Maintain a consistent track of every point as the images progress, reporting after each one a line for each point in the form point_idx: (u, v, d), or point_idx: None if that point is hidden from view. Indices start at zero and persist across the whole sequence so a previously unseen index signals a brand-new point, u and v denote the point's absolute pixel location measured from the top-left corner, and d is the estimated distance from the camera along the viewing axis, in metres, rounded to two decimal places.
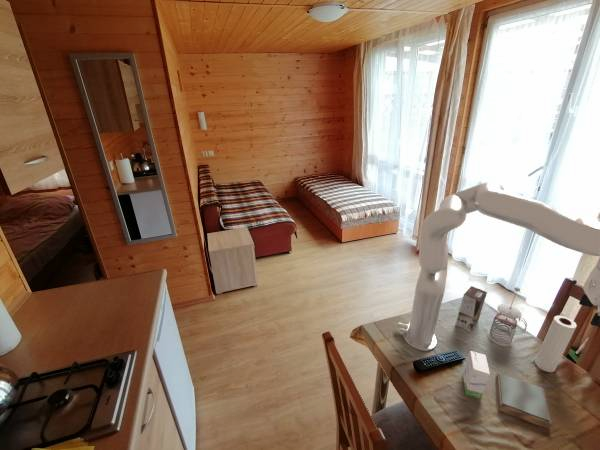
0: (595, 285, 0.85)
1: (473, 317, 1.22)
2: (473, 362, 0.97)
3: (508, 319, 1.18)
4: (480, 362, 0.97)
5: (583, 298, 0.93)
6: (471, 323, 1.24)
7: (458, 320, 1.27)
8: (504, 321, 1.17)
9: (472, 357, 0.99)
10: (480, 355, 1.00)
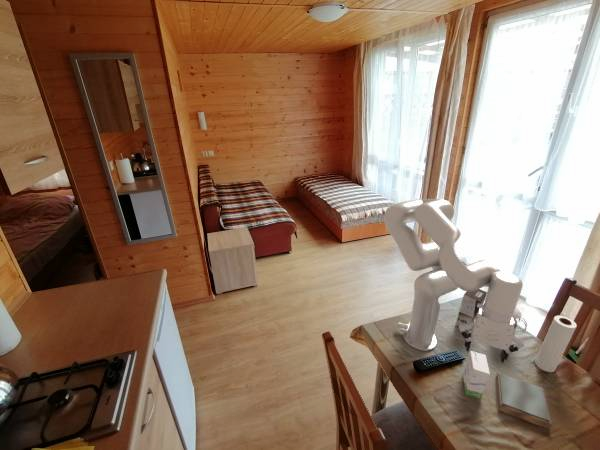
0: (498, 335, 0.88)
1: (473, 317, 1.22)
2: (473, 362, 0.97)
3: None
4: (480, 362, 0.97)
5: (469, 346, 0.95)
6: None
7: (458, 320, 1.27)
8: None
9: (472, 357, 0.99)
10: (480, 355, 1.00)
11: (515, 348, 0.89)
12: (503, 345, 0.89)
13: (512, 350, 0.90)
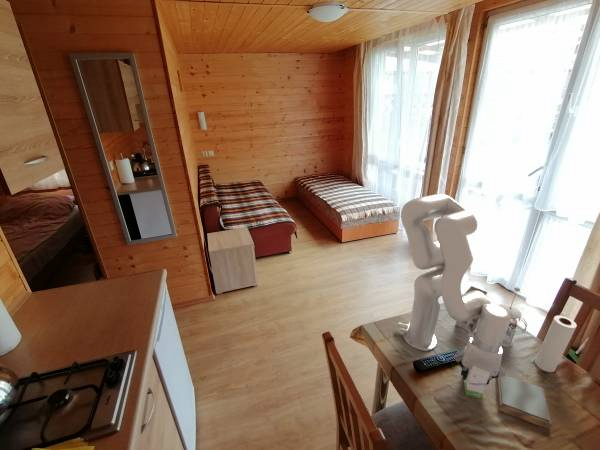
0: (487, 363, 0.93)
1: None
2: None
3: None
4: None
5: None
6: (471, 323, 1.24)
7: None
8: None
9: None
10: None
11: None
12: (492, 372, 0.94)
13: (493, 376, 0.96)
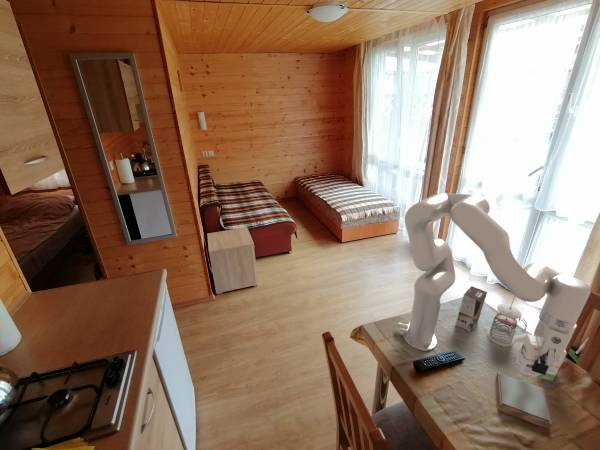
0: None
1: (473, 317, 1.22)
2: None
3: (508, 319, 1.18)
4: None
5: None
6: (471, 323, 1.24)
7: (458, 320, 1.27)
8: (504, 321, 1.17)
9: None
10: (533, 338, 0.88)
11: None
12: None
13: None
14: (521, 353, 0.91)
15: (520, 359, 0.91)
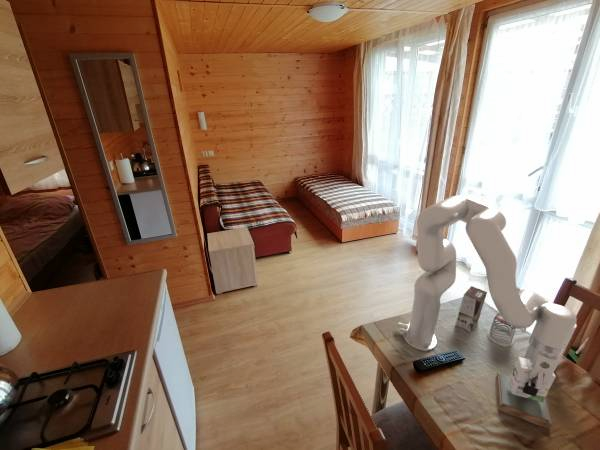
0: None
1: (473, 317, 1.22)
2: None
3: None
4: None
5: None
6: (471, 323, 1.24)
7: (458, 320, 1.27)
8: (504, 321, 1.17)
9: None
10: (523, 361, 0.92)
11: None
12: None
13: None
14: (513, 375, 0.95)
15: (512, 381, 0.95)
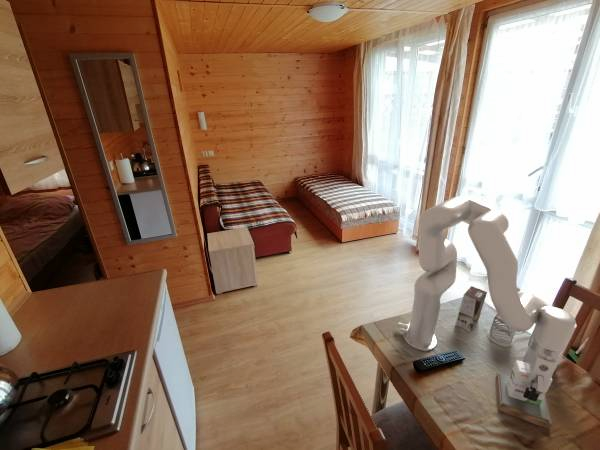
0: None
1: (473, 317, 1.22)
2: None
3: None
4: None
5: None
6: (471, 323, 1.24)
7: (458, 320, 1.27)
8: None
9: None
10: (521, 364, 0.93)
11: None
12: None
13: None
14: (510, 378, 0.96)
15: (510, 384, 0.96)
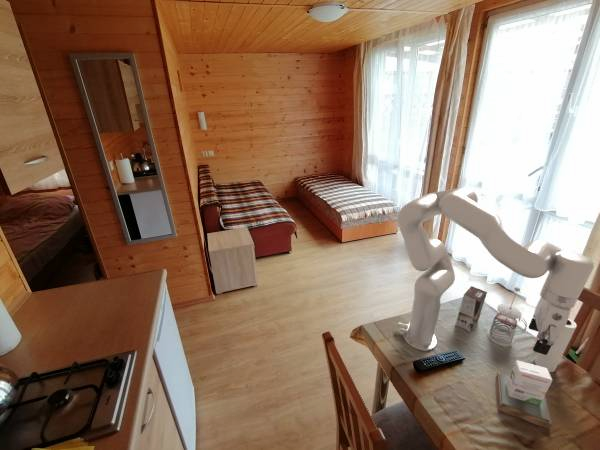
0: None
1: (473, 317, 1.22)
2: (539, 375, 0.89)
3: (508, 319, 1.18)
4: (535, 369, 0.91)
5: None
6: (471, 323, 1.24)
7: (458, 320, 1.27)
8: (504, 321, 1.17)
9: (531, 373, 0.90)
10: (521, 364, 0.93)
11: None
12: None
13: None
14: (510, 378, 0.96)
15: (510, 384, 0.96)
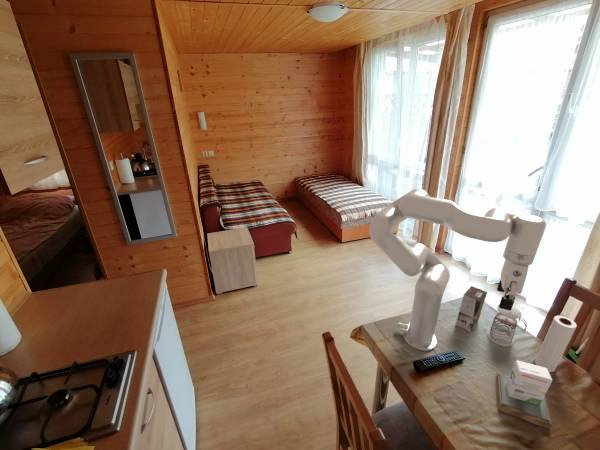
0: None
1: (473, 317, 1.22)
2: (539, 375, 0.89)
3: (508, 319, 1.18)
4: (535, 369, 0.91)
5: None
6: (471, 323, 1.24)
7: (458, 320, 1.27)
8: (504, 321, 1.17)
9: (531, 373, 0.90)
10: (521, 364, 0.93)
11: None
12: None
13: None
14: (510, 378, 0.96)
15: (510, 384, 0.96)
